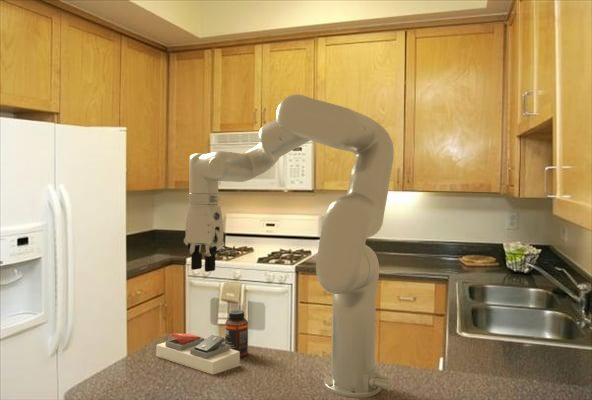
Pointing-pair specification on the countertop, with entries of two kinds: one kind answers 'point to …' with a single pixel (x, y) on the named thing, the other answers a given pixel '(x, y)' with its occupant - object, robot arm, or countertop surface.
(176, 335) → the red rocker
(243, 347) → the supplement bottle
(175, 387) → the countertop surface
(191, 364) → the rocker switch panel
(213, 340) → the black rocker
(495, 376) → the countertop surface
